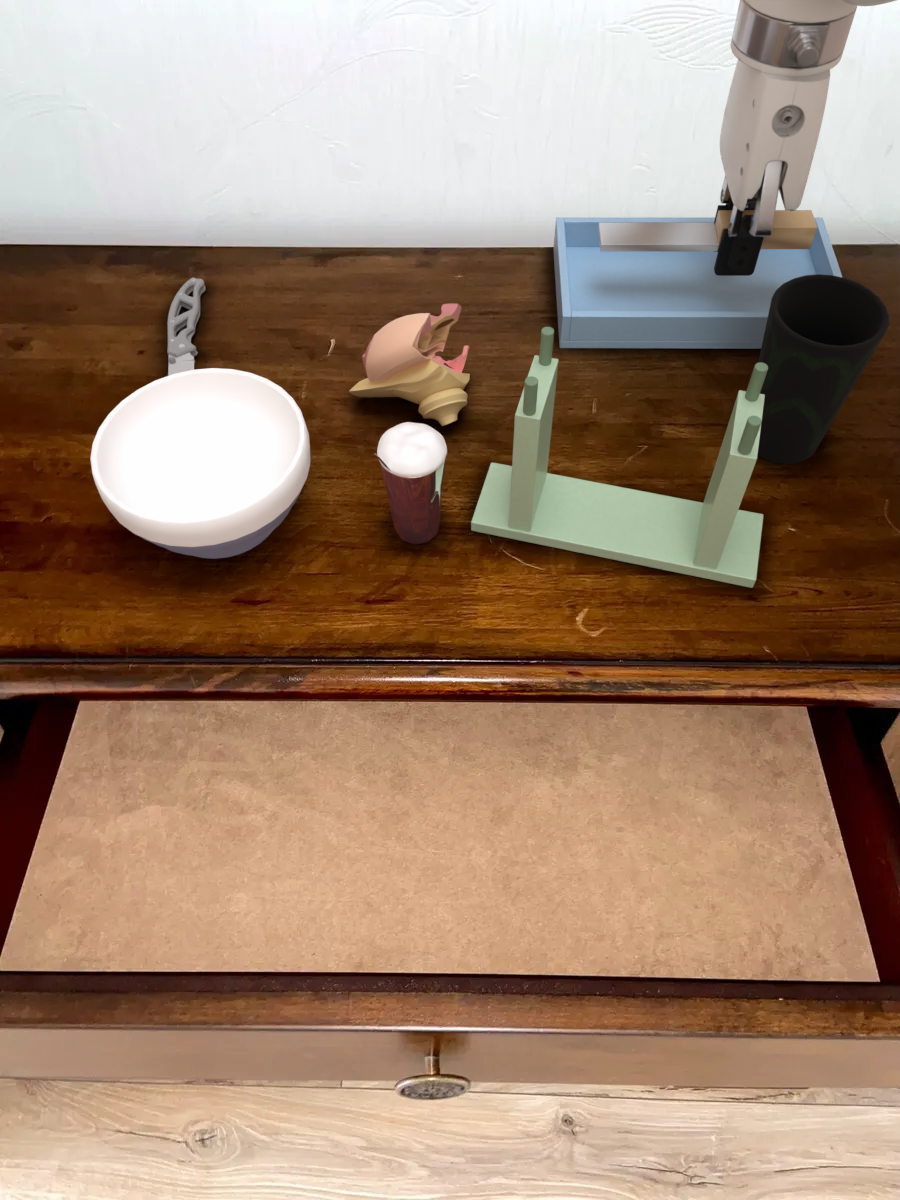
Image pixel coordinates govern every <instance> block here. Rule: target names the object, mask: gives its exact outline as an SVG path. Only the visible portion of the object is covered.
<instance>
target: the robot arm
mask: <svg viewBox="0 0 900 1200" xmlns="http://www.w3.org/2000/svg"><path fill="white" fill-rule="evenodd" d="M895 1H897V0H739V4H738V6H737V7H738V8H737V12H736V17H735V22H734V27H733V31H732V35H731V40H730V49H731V52H732V54H733V56H734V57H735V58H736V59H737V61H736V64H735V69H734V72H733V75H732V80H731V83H730V88H729V91H728V96H727V99H726V104H725V109H724V113H723V119H722V123H721V128H720V136H719V154H720V159H721V162H722V163H721V164H722V167H723V171H724V178H723V182H722V187H721V190H720V195H719V202H720V204H718V205H717V208H716V212H715V217H714V218H715V220H714V224H715V223H716V219H717V214H718V211H719V210H732V214H731V218H730V223H729V228H728V229H724V230H723V234H722V238H721V242H720V246H719V249H718V251H712V252H718V254H717V258H716V262H715V266H714V271H715V274H716V275H718V276H749V275H752V274H753V273H754V270H755V267H756V263H757V260H758V256H759V253H760V249H761V246H762V242H763V239H764V237H765V236H771V234H772V230H773V223H774V217H775V210H777V203H778V197H779V194H780V197H781V201H782V204H783V207H784V210H789V211H795V210H798V209H799V207H800V205H801V203H802V200H803V197H804V195H805V194H804V193H805V191H806V186H807V183H808V180H809V179H808V178H809V175H810V171H811V167H812V164H813V160H814V156H815V153H816V152H815V151H816V149H817V145H818V142H819V141H818V140H819V137H820V132H821V127H822V124H823V120H824V115H825V110H826V104H827V101H828V100H827V99H828V93H829V87H830V80H831V70H832V69H833V68H835V67H836V66H837V65H838V64H839V63H841V60H842V57H843V54H844V50H845V48H846V44H847V42H848V38H849V34H850V30H851V29H852V25H853V21H854V19H855V16H856V12H857V8H858V6H859V7H874V6H880V5H884V4H889V3H893V2H895ZM744 210H755V212H754V215H744V216H743V217H742V214H743V211H744Z"/></svg>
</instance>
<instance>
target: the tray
mask: <svg viewBox="0 0 900 1200" xmlns="http://www.w3.org/2000/svg"><path fill="white" fill-rule="evenodd" d="M814 219H815V222H816V225H817V230H816V233H815V236H814V239H813V242H812V245H811V248H810V249H760V253H759V256H758V260H757V263H756V267H755V270H754V273H753V274H752V275H749V276H718V275H716V274H715V271H714V266H715V262H716V258H717V254H718V252H712V251H600V245H599V235H598V225H599V223H714V220H715V217H560V216H559V217H556V218H555V227H554V237H553V248H552V250H553V265H554V279H555V283H554V284H555V297H556V299H555V300H556V315H557V329H558V330H557V331H558V345H559V349H694V350H695V349H698V350H699V349H700V350H701V349H708V350H709V349H710V350H711V349H714V350H717V349H718V350H719V349H721V350H723V349H725V350H727V349H729V350H730V349H734V350H735V349H736V350H761V347H762V342H763V338H764V333H765V328H766V323H767V318H768V314H769V309H770V304H771V299H772V297H773V295H774V293H775V291H776V290H777V289H778V288H779V287H780V286H781V285H782V284H784V283H786V282H788V281H790V280H792V279H794V278H798V277H802V276H805V275H817V274H821V275H833V276H838V277H842V278H844V277H843V275H842V271H841V269H840V266H839V262H838V259H837V256H836V253H835V250H834V248H833V244H832V242H831V238H830V236H829V233H828V229H827V227H826V224H825V220H824V218H823V217H817V216H816V217H814Z"/></svg>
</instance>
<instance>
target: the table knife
mask: <svg viewBox="0 0 900 1200" xmlns="http://www.w3.org/2000/svg"><path fill="white" fill-rule="evenodd" d="M754 212H755V210H744V211H743V214H742V217H743V216H744V215H754ZM731 214H732V210H719V211H718V214H717V219H716V223H715V224H714V223H599V225H598V235H599V245H600V251H718V249H719V246H720V242H721V238H722V234H723V230H724V229H728V228H729V223H730V218H731ZM814 218H815V217H814V212H813V210H811V209H796V210H795V211H789V210H785V209H776V210H775V217H774V223H773V230H772V234H771V236H765V237H764V239H763V242H762V246H761V249H810V248H811V245H812V242H813V239H814V236H815V233H816V230H817V225H816V222H815V219H814Z"/></svg>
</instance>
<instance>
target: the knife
mask: <svg viewBox="0 0 900 1200" xmlns="http://www.w3.org/2000/svg"><path fill="white" fill-rule="evenodd" d="M206 290H207V289H206V285H205V281H204V279H203V278H196V277H191V278H189V279H188V280H187V281H186V282H185V283H184V284H183V285H182V286H180V288H179V290H178V291H177V292H176V294H175V295H174V297H173V300H172V302H171V304H170V307H169V310H168V314H167V322H166V323H167V324H166V325H167V328H166V329H167V349H166V350H167V351H166V353H167V355H168V358H167V359H168V363H167V364H168V366H167V367H168V370H167V371H168V372H167V376H169V375H172V374H176V373H181V372H185V371H190V370H195V363H196V360H195V357H198V354H199V352H198V351H197V346H196V345H194V344H193V343H192V338H193V337H194V335H195V334H196V328H197V327H196V326H197V324H198V322H199V319H200V317H201V297H202V294H203V293H205V292H206ZM191 293H192V296H190V295H191ZM182 308H185V309H187V311H185V312H182V313H181V314H180V312H181V309H182ZM178 332H179V333H178ZM177 333H178V334H177Z"/></svg>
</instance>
